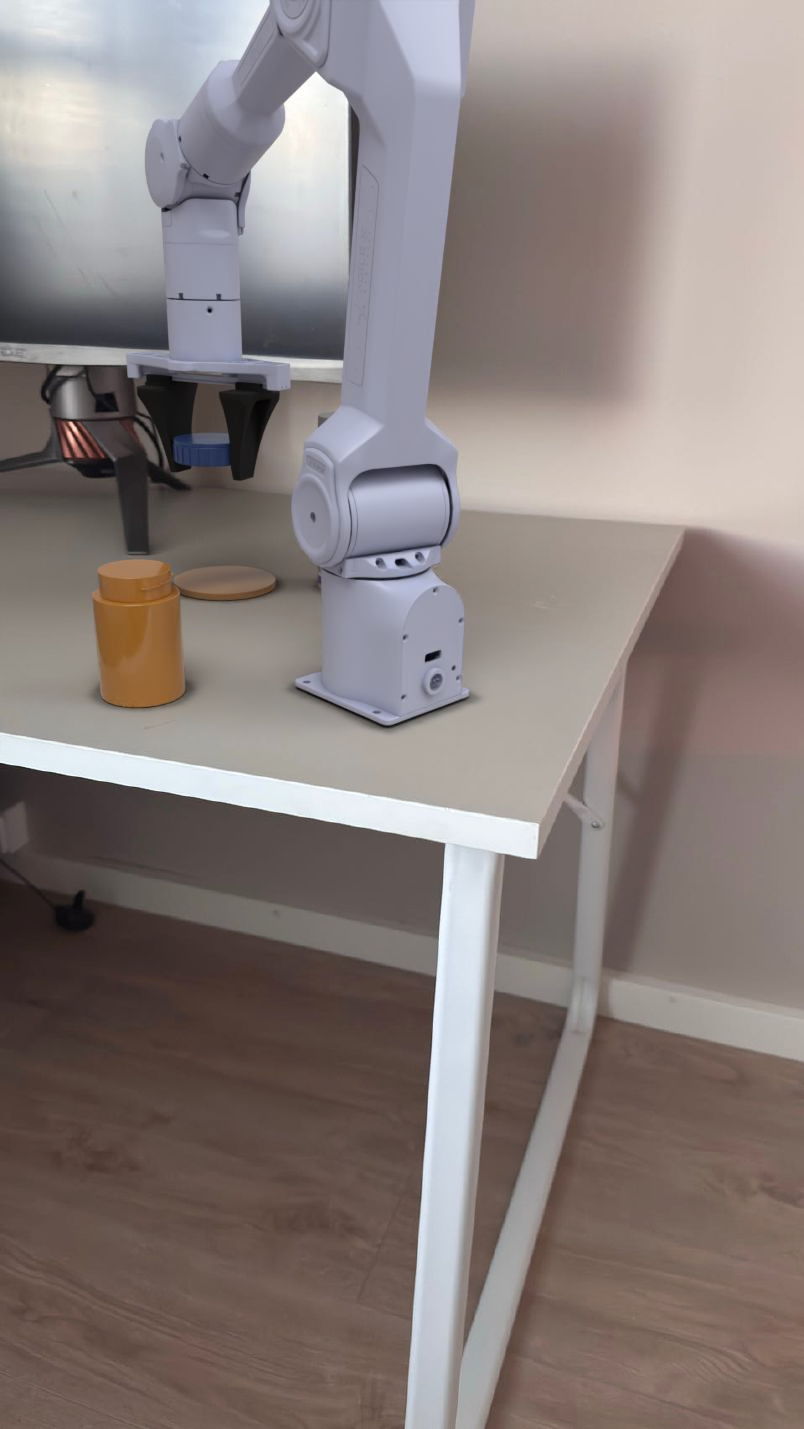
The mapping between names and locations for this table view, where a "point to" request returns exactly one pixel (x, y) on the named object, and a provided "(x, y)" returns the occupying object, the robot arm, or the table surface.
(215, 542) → the table surface
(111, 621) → the jar
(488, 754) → the table surface
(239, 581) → the coaster
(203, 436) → the lid
